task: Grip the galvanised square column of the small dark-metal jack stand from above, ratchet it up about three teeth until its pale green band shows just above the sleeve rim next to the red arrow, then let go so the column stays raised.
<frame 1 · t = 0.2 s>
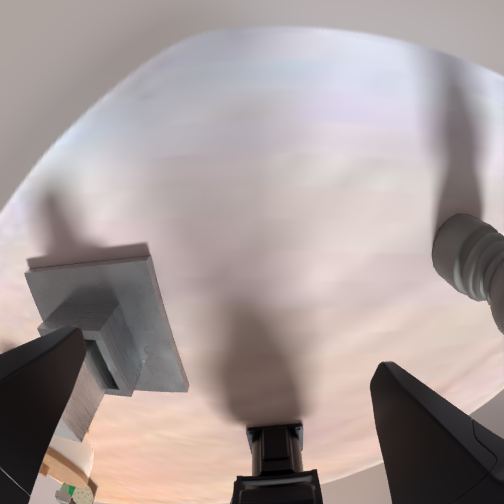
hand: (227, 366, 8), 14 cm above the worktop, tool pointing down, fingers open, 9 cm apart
stand base: (104, 331, 24), on the worktop
lidded bowl: (68, 421, 32), on the worktop
candle holder: (456, 246, 21), on the worktop
food container: (80, 473, 41), on the worktop
column: (74, 374, 18), point 6 cm above the worktop, slide at 0.0 cm
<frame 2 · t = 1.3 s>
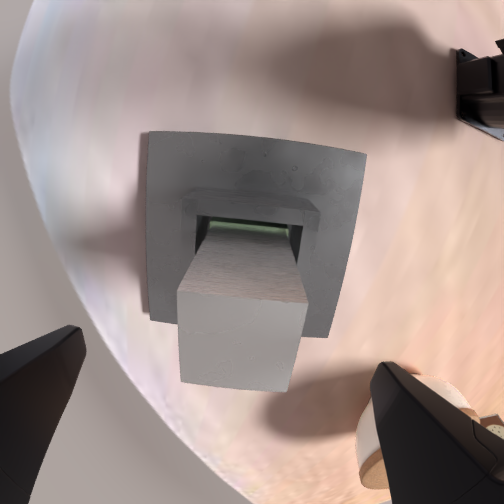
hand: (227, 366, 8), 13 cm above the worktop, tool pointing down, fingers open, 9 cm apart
stand base: (247, 240, 20), on the worktop
lidded bowl: (396, 395, 26), on the worktop
food container: (474, 427, 31), on the worktop
column: (243, 282, 14), point 6 cm above the worktop, slide at 0.0 cm
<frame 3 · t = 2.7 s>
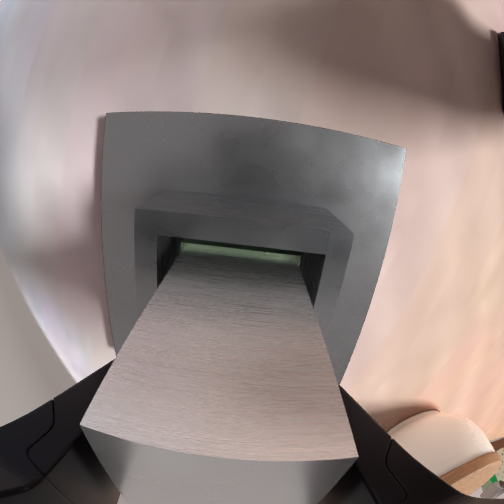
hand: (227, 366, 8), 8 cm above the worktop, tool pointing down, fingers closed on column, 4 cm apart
stand base: (239, 263, 15), on the worktop
lidded bowl: (410, 432, 21), on the worktop
food container: (482, 450, 26), on the worktop
column: (230, 344, 9), point 6 cm above the worktop, slide at 0.0 cm, touching gripper
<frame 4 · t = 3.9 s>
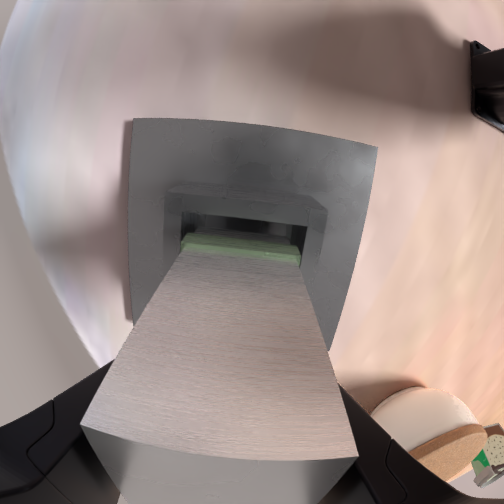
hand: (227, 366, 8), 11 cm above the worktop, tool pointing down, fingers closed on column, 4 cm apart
stand base: (242, 242, 18), on the worktop
lidded bowl: (399, 408, 24), on the worktop
food container: (475, 437, 29), on the worktop
column: (229, 344, 9), point 10 cm above the worktop, slide at 3.4 cm, touching gripper
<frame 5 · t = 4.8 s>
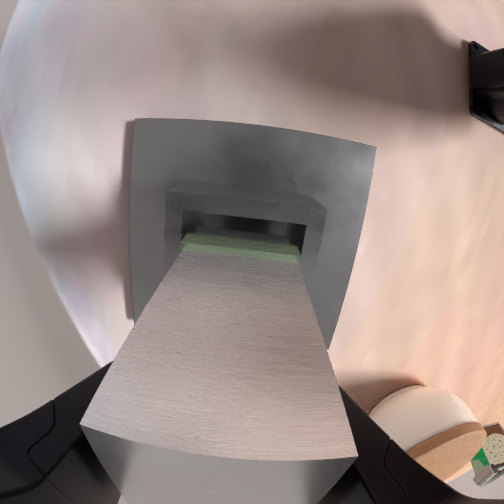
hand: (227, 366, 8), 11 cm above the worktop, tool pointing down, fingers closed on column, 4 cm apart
stand base: (242, 241, 18), on the worktop
lidded bowl: (398, 407, 24), on the worktop
food container: (474, 436, 30), on the worktop
column: (229, 344, 9), point 10 cm above the worktop, slide at 3.6 cm, touching gripper
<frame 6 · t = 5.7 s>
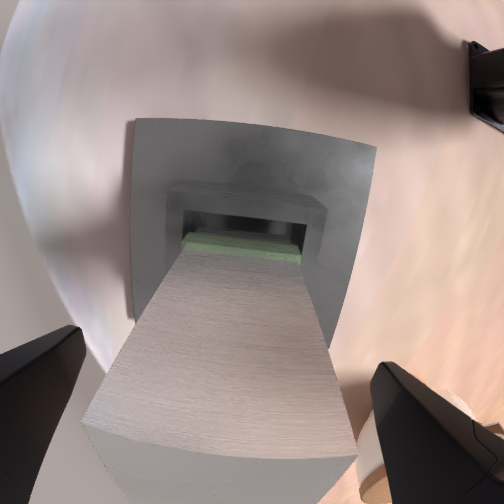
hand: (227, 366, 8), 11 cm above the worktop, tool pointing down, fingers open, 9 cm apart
stand base: (242, 240, 18), on the worktop
lidded bowl: (399, 406, 24), on the worktop
food container: (474, 435, 30), on the worktop
column: (230, 343, 9), point 10 cm above the worktop, slide at 3.6 cm
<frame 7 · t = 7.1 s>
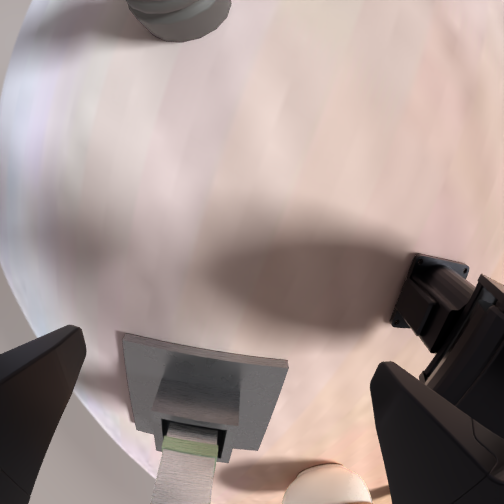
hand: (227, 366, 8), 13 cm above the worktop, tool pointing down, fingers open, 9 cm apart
stand base: (200, 401, 26), on the worktop
lidded bowl: (320, 473, 32), on the worktop
candle holder: (187, 7, 14), on the worktop
column: (184, 488, 16), point 10 cm above the worktop, slide at 3.6 cm
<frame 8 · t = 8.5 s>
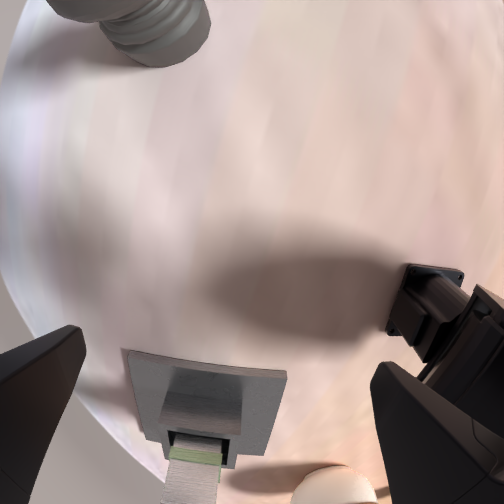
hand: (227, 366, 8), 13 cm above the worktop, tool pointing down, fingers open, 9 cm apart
stand base: (205, 411, 26), on the worktop
lidded bowl: (327, 474, 33), on the worktop
candle holder: (167, 30, 15), on the worktop
column: (191, 494, 17), point 10 cm above the worktop, slide at 3.6 cm
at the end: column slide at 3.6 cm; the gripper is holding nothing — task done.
